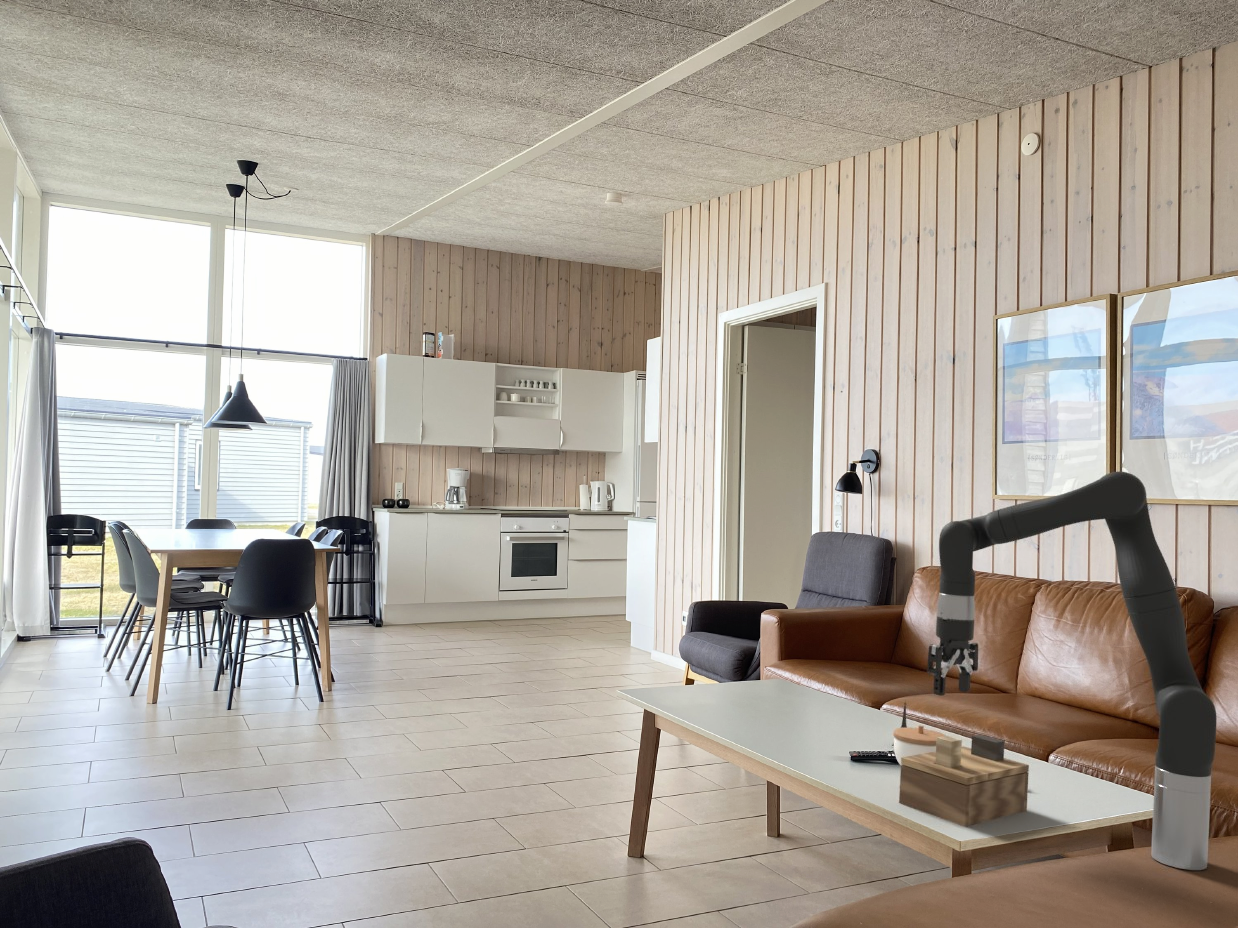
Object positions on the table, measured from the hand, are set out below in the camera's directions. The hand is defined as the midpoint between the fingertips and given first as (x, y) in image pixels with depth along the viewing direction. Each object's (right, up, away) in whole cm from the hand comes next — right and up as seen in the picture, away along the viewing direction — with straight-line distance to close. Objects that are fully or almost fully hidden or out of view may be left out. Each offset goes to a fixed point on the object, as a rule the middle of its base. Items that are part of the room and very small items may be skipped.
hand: (951, 693), depth 206 cm
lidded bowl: (+3, -27, +32) cm, 42 cm away
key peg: (-1, -24, -1) cm, 24 cm away
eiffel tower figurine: (+6, -28, +55) cm, 62 cm away
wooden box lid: (+4, -17, +3) cm, 17 cm away
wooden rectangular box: (+3, -26, +3) cm, 26 cm away
